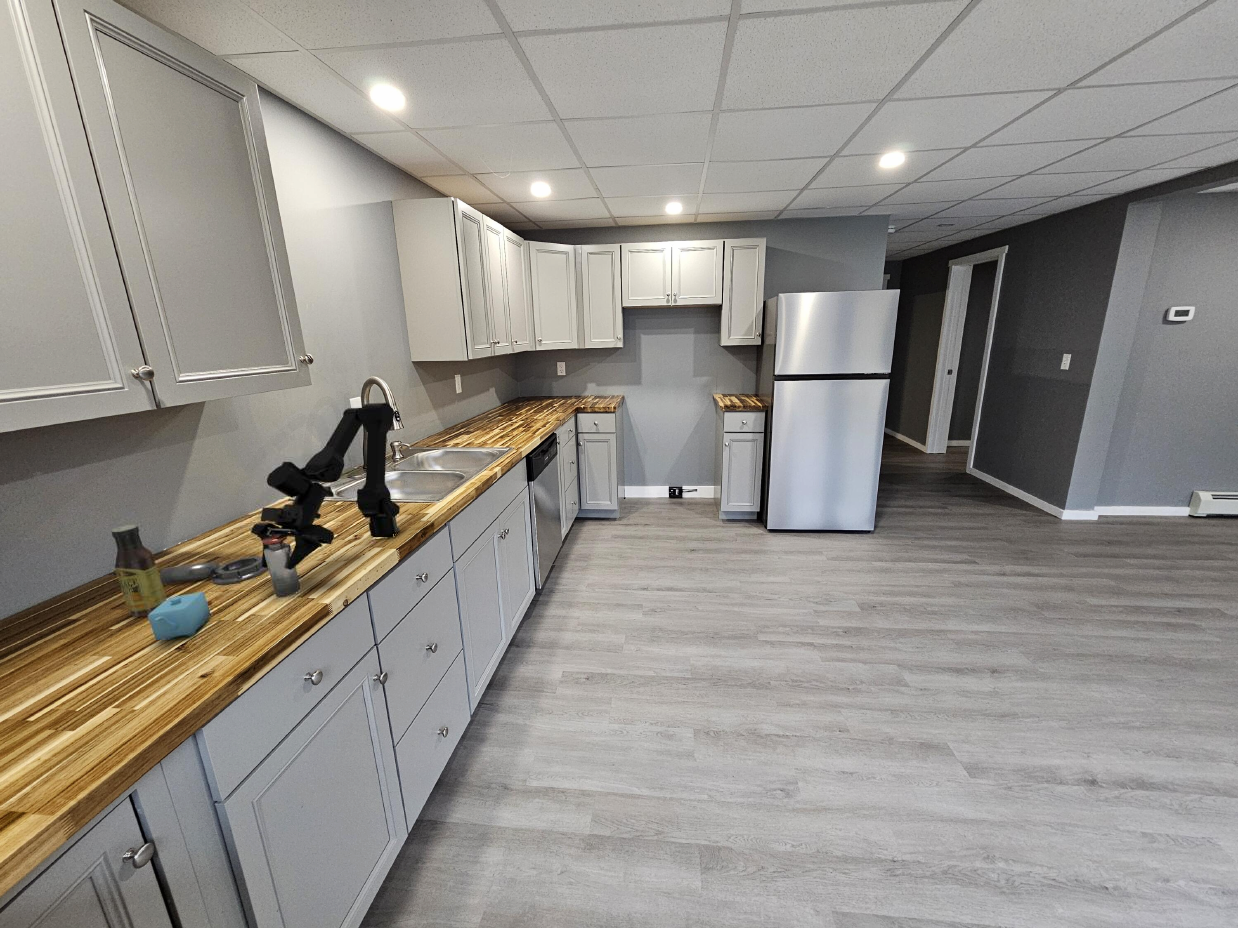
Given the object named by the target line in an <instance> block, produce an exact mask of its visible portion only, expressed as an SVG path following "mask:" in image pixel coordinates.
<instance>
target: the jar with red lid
mask: <svg viewBox="0 0 1238 928" xmlns="http://www.w3.org/2000/svg"><path fill="white" fill-rule="evenodd" d="M287 539H288V537H287V535H286V534H277V535H272V536H269V537H266V538H264V539H263V540H261V542H262V545H263V544H264V545H269V548H267V549H265V550H264V554H265V558H266V561H267V565H268V569H269V570H268V573H269V576H270V580H271V583H272V587H273V592H274V595H275V597H277V598H286V597H289V596H292V595H295V594H297V593H298V592H299V590H300V591H301V589H302V586H301V583H300V579H299V575H298V569H297V565H296V566H295V567H294V568H293V569H292V570H289V569H287V565H288V562H289V560H290V557H291V555H292V552H293V550H292V546H291V544H290V543H286V544H284V543H285V542H284V541H286V540H287ZM296 592H297V593H296Z"/></svg>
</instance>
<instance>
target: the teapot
mask: <svg viewBox="0 0 1238 928" xmlns="http://www.w3.org/2000/svg"><path fill="white" fill-rule="evenodd" d="M211 615H212V614H211V611H210V607H209V604H208V601H207V598H206V594H205V592H204V591H202V592H201V591H200V592H195V593H187V594H183V595H178V596H171V597H168V598H166V601H164V602H163V603H162V604H161V605H159V606H158V607H157V608H156V609H155V610H153V611H152V612H151V613H150V614H149V615H147V618H148V621H149V624H150V626H151V629H152V632H153V635H154V639H155V641H158V640H159V641H160V640H165V641H170V640H172V639H175V637H180V636H181V637H182V636H187V637H191V636H193V635H195V634H196V633H197V630H198V629H199V628H200V627H201V626H204V625H205V624H206V621H207V620H208V618H210V617H211Z"/></svg>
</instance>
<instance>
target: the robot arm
mask: <svg viewBox="0 0 1238 928" xmlns="http://www.w3.org/2000/svg"><path fill="white" fill-rule="evenodd" d="M394 418H395V410H394V408H393V406H392V405H391V404H390V403H388V402H376V403H375V402H374V403H370V402H369V403H365V404H364V405H363V406H361V407H349V408H346V409H345V410H344V411H343V414H342V418H341V419H340V421H339V422H338V424H337V426H336V427H335V429H334V431H332V432H333V433H331V436H330V437H329V439H328V441H327V443H326V444H325V446H324V448H322V450H320V451H318V452H317V453H315V454H314V455H313V456H312V457H311V458H310V459H309V460H308V461H307V463H306V464H305V466H303V467H302V468H300V467H298V466H297V465H296V464H295V463H293V462H292V461H283V462H282V463H281V465H279V466H277V467H276V468H275V469H273V470H272V471H271V472H270V473H268V476H267V478H266V484H267V485H268V486H269V487H271V488H273V489H274V490H276V491H278V492H280V493H281V494H284V495H285V496H287V497H288V498H294V500H293V502H292V504H287V503H286V504H284V506H283V507H263V506H262V509H261V510H262V511H261V515H260V522H257V523H254V524H253V526H252V528H251V530H250V533H251V534H253V535H256V537H257V538H259V539H260V540H261V541H262V540H263V539H264V538H266V537H269V536H272V535H277V534H286V535H287V538H288V537H289V538H290V537H291V538H294V543H295V545H294V548H293V550H292V555H291V557H290V560H289V562H288V565H287V569H289V570H292V569H293V568H294V567H295V566H296V567H297V566H298V565H299V564H300V563H301V562H303V560H304V559H306V558H307V557H308V556H309V555H311V554H312V553H313V552H315V551H316V550H317V549H318V548H322V547H323V545H332V543H333V541H334V539H335V534H334V531H332V530H330V529H329V528H328V527H327V528H326V527H325V526H322V525H321V524H316V523H315V524H314V522H315V520H317V519H320V518H322V517H321V516H322V514H320V513H319V510H320V509H321V507H322V504H323V503H324V500H325V498H334V496H335V494H334V491H332V487H331V485H330V486H329V485H328V486H327V485H326V486H325V485H323V484H322V483H325V484H326V483H329V484H330V483H335V482H338V481H339V479H340V478H341V476H342V474H343V471H344V468H345V466H346V465H345V460H344V459H345V455H346V454H347V452H348V450H349V448H350V447H351V444H352V443H353V442H354V439H355V437H356V436H357V434H358V432H359V430H360V428H361V427H362V426H363V428H364V429H365V432H366V433H367V434H366V435H367V437H366V462H365V463H366V468H365V483H364V484H363V487H362V488H358V489H357V490H356V501H355V504H357V509H358V510H359V511H360V512H361V514H362V517H364V519H369V523H368V528H369V531H370V536H371V537H393V534H394V536H395V534H396V533H397V532H398V531H399V532H400V530H399V529H400V528H398V523H397V518H396V517H398V516H397V515H399V514H400V510H401V509H400V508H401V507H400V505H398V504H397V503H396V502H394V501H393V500H392V494H391V491H390V490H389V488H388V487H387V484H386V466H387V465H386V462H387V461H386V459H387V456H386V455H387V435H388V433H389V431H390V430H391V428H392V427H393V426H394V425H393V424H394ZM273 522H274V523H273ZM399 532H398V533H399ZM398 533H397V534H398ZM395 537H396V536H395ZM284 544H287V543H286V542H284ZM267 548H269V545H264V544H263V543H262V554H261V555H262V556H261V557H262V567H263V568H267V567H268V565H267V561H266V558H265V554H264V550H265V549H267Z"/></svg>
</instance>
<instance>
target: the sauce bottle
mask: <svg viewBox="0 0 1238 928" xmlns="http://www.w3.org/2000/svg"><path fill="white" fill-rule="evenodd" d="M139 532H140V529H139V526H138V525H137V524H128V525H123V526H119V527H116V528H113V529H112V530H111V536H112V537H113V538H114V540H115V544H116V549H117V550H116V558H115V563H114V569H115V573H116V575H117V576H116V577H117V578H118V583H119V585H120V590H121V592H122V595H123V597H124V602H125V604H126V606H127V610H128V611H129V613H130V615H131V616H132V617H134V618H135V617H148V615H149V614H150V613H151V612H152V611H153V610H155V609H156V608H157V607H158V606H159V605H161V604H162V603H163V602H164V601H166V600H167V596H166V593H165V590H164V587H163V584H162V582H161V579H160V575H159V574H160V571H159V569H158V566H157V563H156V561H155V557H154V554H153V552H152V551H151V550H150V549H149V548H147V547H145V545H143V541H142V539H141V536H140V534H139Z"/></svg>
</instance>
